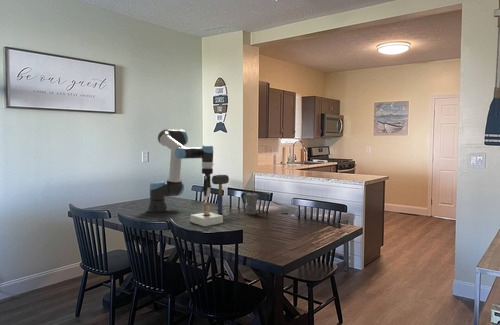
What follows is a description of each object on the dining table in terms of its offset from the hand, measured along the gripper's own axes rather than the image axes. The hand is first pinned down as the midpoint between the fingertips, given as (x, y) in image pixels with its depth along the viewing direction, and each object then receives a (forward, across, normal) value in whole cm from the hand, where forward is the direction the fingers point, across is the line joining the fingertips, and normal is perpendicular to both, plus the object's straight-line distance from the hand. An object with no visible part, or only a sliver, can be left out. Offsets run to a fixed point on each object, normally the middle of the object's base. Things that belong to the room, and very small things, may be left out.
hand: (206, 198), depth 255 cm
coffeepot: (+17, +34, -29) cm, 48 cm away
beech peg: (+17, 0, 0) cm, 17 cm away
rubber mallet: (+17, +32, -6) cm, 37 cm away
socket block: (+17, 0, 0) cm, 17 cm away
